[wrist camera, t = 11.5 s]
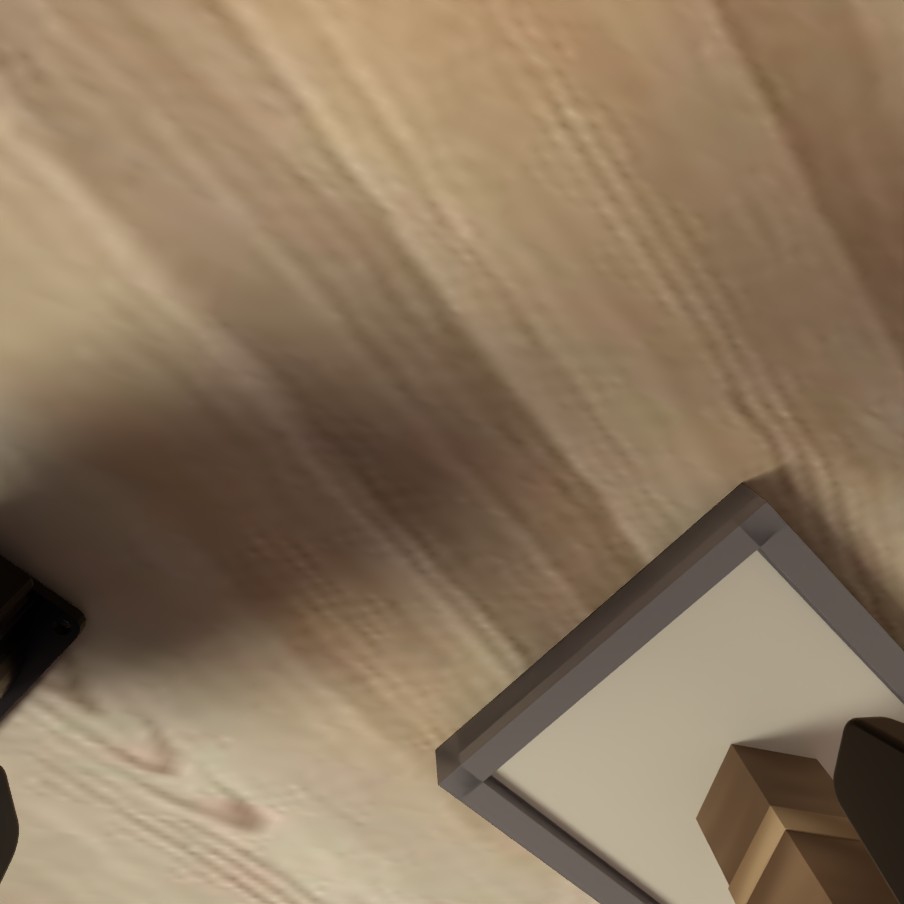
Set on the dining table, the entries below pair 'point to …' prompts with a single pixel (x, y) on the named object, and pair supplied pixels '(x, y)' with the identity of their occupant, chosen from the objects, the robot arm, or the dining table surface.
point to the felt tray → (674, 706)
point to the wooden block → (785, 833)
